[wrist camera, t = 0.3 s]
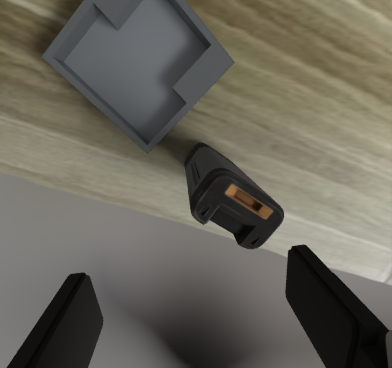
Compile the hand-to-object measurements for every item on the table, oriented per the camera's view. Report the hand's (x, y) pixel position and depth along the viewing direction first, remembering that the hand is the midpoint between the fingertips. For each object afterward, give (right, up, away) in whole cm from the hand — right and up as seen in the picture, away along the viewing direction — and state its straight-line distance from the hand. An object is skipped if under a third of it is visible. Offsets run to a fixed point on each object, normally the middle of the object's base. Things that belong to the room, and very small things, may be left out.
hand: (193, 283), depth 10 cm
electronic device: (+3, +8, +30) cm, 31 cm away
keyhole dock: (-8, +24, +24) cm, 34 cm away
